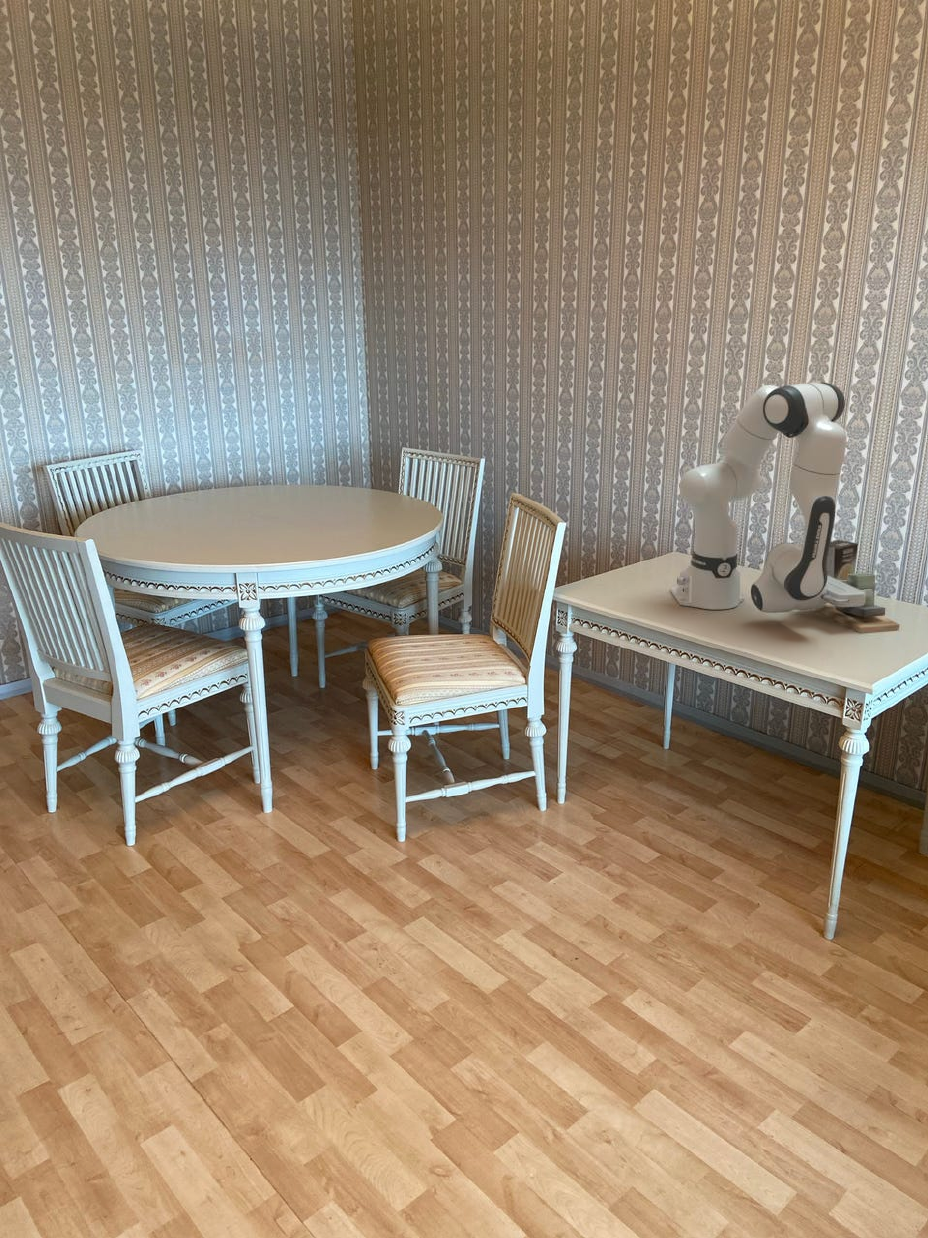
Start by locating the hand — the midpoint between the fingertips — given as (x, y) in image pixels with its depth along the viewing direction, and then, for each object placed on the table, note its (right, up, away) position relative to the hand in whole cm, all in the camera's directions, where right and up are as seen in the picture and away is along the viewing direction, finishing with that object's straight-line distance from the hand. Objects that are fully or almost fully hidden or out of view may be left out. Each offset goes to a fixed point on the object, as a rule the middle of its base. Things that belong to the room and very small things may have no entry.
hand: (861, 587), depth 256 cm
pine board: (-1, -8, +2) cm, 8 cm away
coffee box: (-1, -3, +19) cm, 19 cm away
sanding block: (-1, -6, 0) cm, 6 cm away
